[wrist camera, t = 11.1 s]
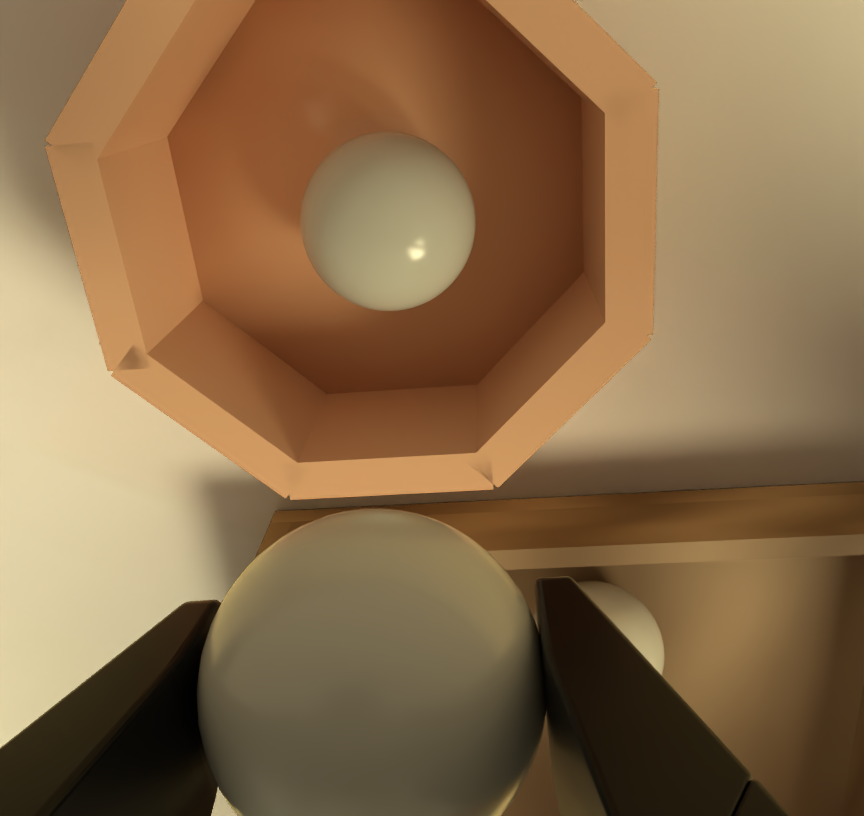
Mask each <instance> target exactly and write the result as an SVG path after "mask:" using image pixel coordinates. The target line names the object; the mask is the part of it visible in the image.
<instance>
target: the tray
mask: <svg viewBox="0 0 864 816" xmlns="http://www.w3.org/2000/svg"><path fill="white" fill-rule="evenodd" d="M359 509H392V510H402V511H406V512H411V513H416V514H420V515H423V516H426V517H430V518H433V519H436V520H438V521H440V522H443V523H445V524H447V525H449V526H451V527H454V528H455V529H457V530H459V531H460V532H462V533H463V534H465V535H467V536H468V537H470V538H471V539H472V540H474V541H475V542H476V543H477V544H479V545H480V546H481V547H482V548H484V549H485V550H486V551H487V552H489V553H490V554H491V555H492V556H493V557H494V558H495V559H496V560H497V561H498V562H499V563H500V564H501V565H502V566H503V568H504V569H505V570H506V572H507V573H508V574H509V576H510V577H511V579H512V580H513V581H514V583H515V584H516V586H517V587H518V588H519V590H520V591H521V593H522V595H523V597H524V599H525V600H526V602H527V604H528V606H529V608H530V611H531V613H532V615H534V613H535V611H536V602H535V588H534V584H535V581H536V580H537V579H538V578H546V577H560V576H569V577H571V578H573V579H574V580H575V581H576V582H581V581H601V582H606V583H610V584H613V585H616V586H619V587H621V588H623V589H625V590H626V591H628V592H629V593H631V594H632V595H634V596H635V597H636V598H638V599H639V600H640V601H641V602H642V603H643V604H644V605H645V606H646V607H647V609H648V610H649V611H650V613H651V614H652V616H653V617H654V619H655V621H656V623H657V625H658V627H659V630H660V632H661V635H662V640H663V645H664V668H663V673H662V676H663V678H664V679H665V680H666V681H667V682H668V683H669V684H670V685H671V686H672V687H673V688H674V690H675V691H676V692H677V693H678V694H679V695H680V696H681V697H682V698H683V699H684V701H685V702H686V703H687V704H688V705H689V706H690V707H691V708H692V709H693V710H694V711H695V713H696V714H697V715H698V716H699V717H700V718H701V719H702V720H703V721H704V722H705V723H706V725H707V726H708V727H709V728H710V729H711V730H712V731H713V732H714V733H715V734H716V736H717V737H718V738H719V739H720V740H721V741H722V742H723V743H724V744H725V745H726V746H727V748H728V749H729V750H730V751H731V752H732V753H733V754H734V755H735V756H736V757H737V758H738V760H739V761H740V762H741V763H742V764H743V765H744V766H745V767H746V768H747V769H748V771H749V772H750V773H751V774H752V776H753V780H757V781H759V782H760V783H761V784H762V785H763V786H764V788H765V789H766V790H767V791H768V792H769V793H770V794H771V795H772V796H773V798H774V799H775V800H776V801H777V802H778V803H779V804H780V805H781V806H782V808H783V809H784V810H785V811H786V812H787V813H788V814H789V815H790V816H864V482H848V483H828V484H808V485H788V486H768V487H748V488H728V489H708V490H688V491H668V492H648V493H628V494H608V495H588V496H569V497H549V498H529V499H509V500H489V501H469V502H449V503H429V504H409V505H389V506H369V507H349V508H329V509H309V510H289V511H275V513H274V515H273V518H272V520H271V522H270V525H269V527H268V529H267V532H266V534H265V536H264V539H263V541H262V543H261V545H260V548H259V550H258V552H257V555H256V557H257V556H259V555H260V554H261V553H262V552H263V551H264V550H266V549H267V548H268V547H270V546H271V545H272V544H273V543H275V542H276V541H278V540H279V539H280V538H282V537H283V536H284V535H286V534H288V533H290V532H291V531H293V530H295V529H297V528H299V527H300V526H303V525H305V524H307V523H310V522H312V521H315V520H317V519H320V518H323V517H325V516H328V515H332V514H336V513H340V512H344V511H351V510H359ZM256 557H255V558H256ZM501 816H560V812H559V808H558V803H557V798H556V793H555V788H554V783H553V775H552V768H551V760H550V750H549V741H548V731H547V721H546V716H545V722H544V728H543V733H542V738H541V741H540V744H539V747H538V750H537V753H536V756H535V759H534V762H533V764H532V767H531V769H530V772H529V774H528V776H527V777H526V779H525V781H524V783H523V785H522V786H521V788H520V790H519V792H518V793H517V795H516V797H515V798H514V800H513V801H512V803H511V804H510V805H509V806H508V808H507V809H506V810H505V811H504V812H503V814H502V815H501Z"/></svg>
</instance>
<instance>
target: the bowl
mask: <svg viewBox="0 0 864 816" xmlns="http://www.w3.org/2000/svg"><path fill="white" fill-rule="evenodd" d="M656 83H657V82H656V81H655V80H654V79H653V78H652V77H651V76H650V75H649V74H648V73H647V72H646V71H645V70H644V69H643V68H642V67H640V66H639V65H638V64H637V63H636V62H635V61H634V60H633V59H632V58H631V57H630V56H629V55H628V54H627V53H626V52H625V51H624V50H623V49H622V48H621V47H620V46H619V45H618V44H617V43H616V42H615V41H614V40H613V39H612V38H611V37H610V36H609V35H608V34H607V33H606V32H605V31H604V30H603V29H602V28H601V27H600V26H599V25H598V24H597V23H596V22H595V21H594V20H593V19H592V18H591V17H590V16H589V15H588V14H587V13H586V12H584V11H583V10H582V9H581V8H580V7H579V6H578V5H577V4H576V3H575V2H574V1H573V0H126V2H125V4H124V6H123V7H122V9H121V11H120V12H119V14H118V16H117V18H116V19H115V21H114V23H113V24H112V26H111V28H110V30H109V31H108V33H107V35H106V37H105V38H104V40H103V42H102V43H101V45H100V47H99V49H98V50H97V52H96V54H95V55H94V57H93V59H92V61H91V62H90V64H89V66H88V67H87V69H86V71H85V73H84V74H83V76H82V78H81V79H80V81H79V83H78V85H77V86H76V88H75V90H74V91H73V93H72V95H71V97H70V98H69V100H68V102H67V103H66V105H65V107H64V109H63V110H62V112H61V114H60V116H59V117H58V119H57V121H56V122H55V124H54V126H53V128H52V129H51V131H50V133H49V134H48V136H47V138H46V140H45V141H47V142H48V143H49V144H51V145H48V146H45V149H46V152H47V156H48V159H49V163H50V166H51V170H52V174H53V177H54V181H55V184H56V188H57V191H58V195H59V199H60V202H61V206H62V209H63V213H64V216H65V220H66V223H67V227H68V231H69V234H70V238H71V241H72V245H73V248H74V252H75V256H76V259H77V263H78V266H79V270H80V273H81V277H82V281H83V284H84V288H85V291H86V295H87V298H88V302H89V305H90V309H91V313H92V316H93V320H94V323H95V327H96V330H97V334H98V338H99V341H100V345H101V348H102V352H103V355H104V359H105V363H106V366H107V370H108V371H114V372H113V373H112V375H111V376H112V377H114V378H115V379H116V380H118V381H119V382H121V383H122V384H124V385H125V386H126V387H128V388H129V389H131V390H132V391H133V392H135V393H136V394H138V395H139V396H141V397H142V398H143V399H145V400H146V401H148V402H149V403H150V404H152V405H153V406H155V407H156V408H158V409H159V410H160V411H162V412H163V413H165V414H166V415H167V416H169V417H170V418H172V419H173V420H175V421H176V422H177V423H179V424H180V425H182V426H183V427H184V428H186V429H187V430H189V431H190V432H192V433H193V434H194V435H196V436H197V437H199V438H200V439H201V440H203V441H204V442H206V443H207V444H209V445H210V446H211V447H213V448H214V449H216V450H217V451H218V452H220V453H221V454H223V455H224V456H226V457H227V458H228V459H230V460H231V461H233V462H234V463H235V464H237V465H238V466H240V467H241V468H243V469H244V470H245V471H247V472H248V473H250V474H251V475H253V476H254V477H255V478H257V479H258V480H260V481H261V482H262V483H264V484H265V485H267V486H268V487H270V488H271V489H272V490H274V491H275V492H277V493H278V494H279V495H281V496H282V497H284V498H285V499H286V498H287V496H288V495H290V500H299V499H319V498H338V497H358V496H377V495H397V494H416V493H436V492H455V491H475V490H493V484H494V485H495V486H496V487H498V488H499V487H500V486H501V485H502V484H503V483H504V482H505V481H506V480H507V479H508V478H509V477H510V476H511V475H512V474H513V473H514V472H515V471H516V470H517V469H518V468H519V467H520V466H521V465H522V464H523V463H524V462H525V461H526V460H527V459H528V458H529V457H530V456H532V455H533V454H534V453H535V452H536V451H537V450H538V449H539V448H540V447H541V446H542V445H543V444H544V443H545V442H546V441H547V440H548V439H549V438H550V437H551V436H552V435H553V434H554V433H555V432H556V431H557V430H558V429H559V428H560V427H561V426H562V425H563V424H565V423H566V422H567V421H568V420H569V419H570V418H571V417H572V416H573V415H574V414H575V413H576V412H577V411H578V410H579V409H580V408H581V407H582V406H583V405H584V404H585V403H586V402H587V401H588V400H589V399H590V398H591V397H592V396H593V395H594V394H595V393H596V392H598V391H599V390H600V389H601V388H602V387H603V386H604V385H605V384H606V383H607V382H608V381H609V380H610V379H611V378H612V377H613V376H614V375H615V374H616V373H617V372H618V371H619V370H620V369H621V368H622V367H623V366H624V365H625V364H626V363H627V362H628V361H629V360H631V359H632V358H633V357H634V356H635V355H636V354H637V353H638V352H639V351H640V350H641V349H642V348H643V347H644V346H645V345H646V344H647V343H648V342H649V341H650V340H651V339H650V337H649V335H653V314H654V271H655V229H656V187H657V145H658V103H659V89H658V88H654V87H653V86H654V85H655V84H656ZM383 131H392V132H402V133H406V134H410V135H414V136H417V137H419V138H422V139H424V140H426V141H428V142H429V143H431V144H433V145H435V146H436V147H437V148H439V149H440V150H441V151H443V152H444V153H445V154H446V155H447V156H448V157H449V158H450V159H451V160H452V161H453V162H454V164H455V165H456V166H457V167H458V169H459V170H460V171H461V173H462V175H463V177H464V178H465V180H466V182H467V184H468V187H469V189H470V192H471V195H472V199H473V202H474V209H475V236H474V242H473V246H472V250H471V253H470V255H469V258H468V260H467V262H466V264H465V266H464V268H463V270H462V271H461V272H460V274H459V275H458V277H457V278H456V279H455V280H454V282H453V283H452V284H451V285H450V286H449V287H448V288H447V289H446V290H444V291H443V292H442V293H441V294H439V295H438V296H436V297H435V298H433V299H432V300H430V301H428V302H426V303H424V304H422V305H419V306H416V307H413V308H410V309H404V310H398V311H379V310H373V309H368V308H365V307H362V306H359V305H356V304H354V303H352V302H350V301H348V300H346V299H345V298H343V297H341V296H340V295H338V294H337V293H336V292H334V291H333V290H332V289H331V288H330V287H328V286H327V284H326V283H325V282H324V281H323V280H322V279H321V278H320V277H319V275H318V274H317V272H316V271H315V269H314V268H313V266H312V264H311V262H310V260H309V258H308V256H307V253H306V250H305V247H304V244H303V240H302V235H301V227H300V213H301V205H302V200H303V196H304V193H305V190H306V187H307V185H308V183H309V180H310V178H311V176H312V174H313V173H314V171H315V170H316V168H317V167H318V165H319V164H320V163H321V162H322V161H323V159H324V158H325V157H326V156H327V155H328V154H329V153H331V152H332V151H333V150H334V149H335V148H337V147H338V146H340V145H341V144H343V143H344V142H346V141H348V140H350V139H352V138H354V137H357V136H361V135H364V134H367V133H373V132H383Z"/></svg>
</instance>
